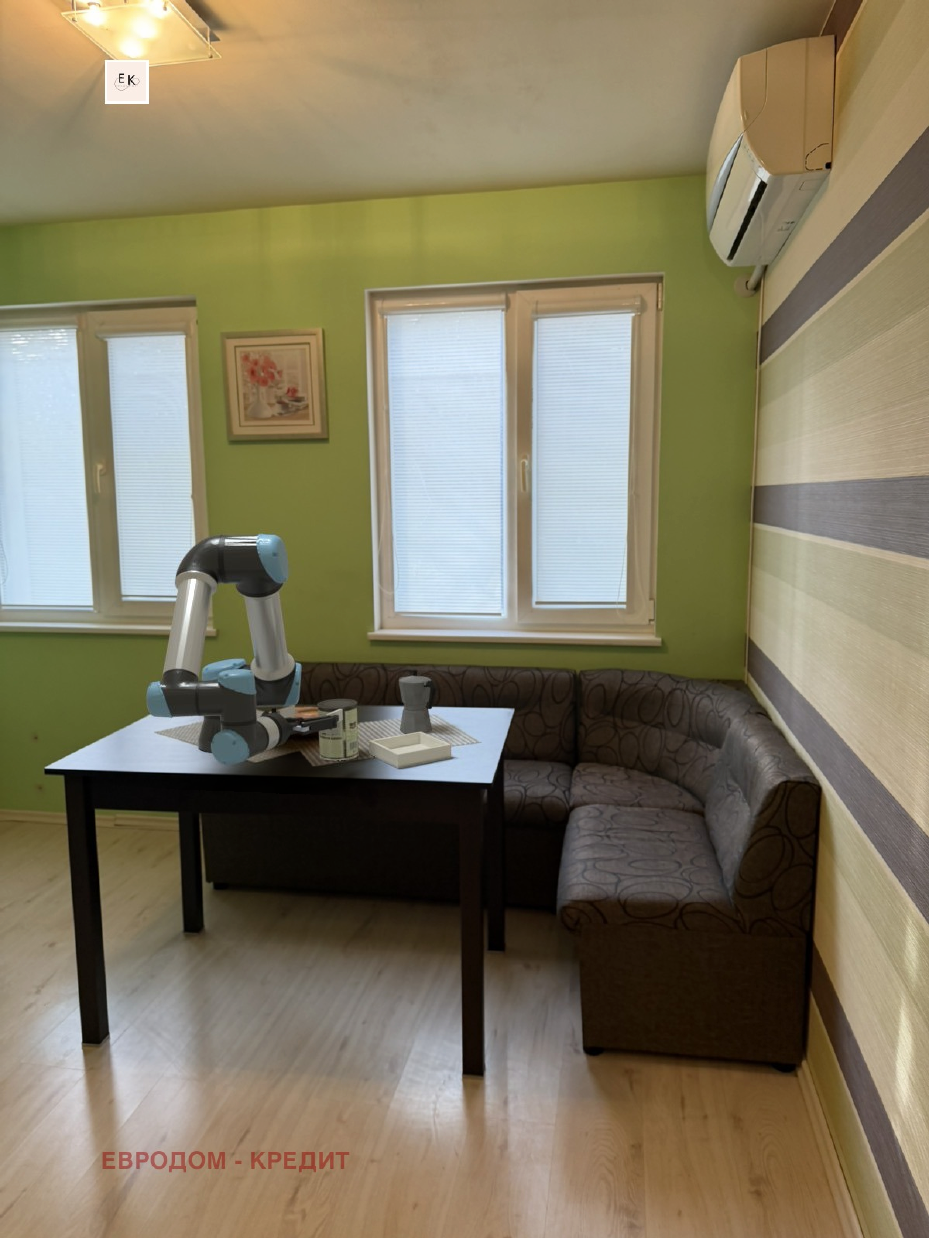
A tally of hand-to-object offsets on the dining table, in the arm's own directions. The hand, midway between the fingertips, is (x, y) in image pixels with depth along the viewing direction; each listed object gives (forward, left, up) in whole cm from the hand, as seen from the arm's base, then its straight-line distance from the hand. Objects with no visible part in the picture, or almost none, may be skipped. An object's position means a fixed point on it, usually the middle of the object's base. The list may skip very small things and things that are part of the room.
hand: (317, 712), depth 210 cm
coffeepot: (-15, +37, -14) cm, 43 cm away
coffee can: (-6, +8, -14) cm, 18 cm away
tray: (+5, +23, -14) cm, 28 cm away
